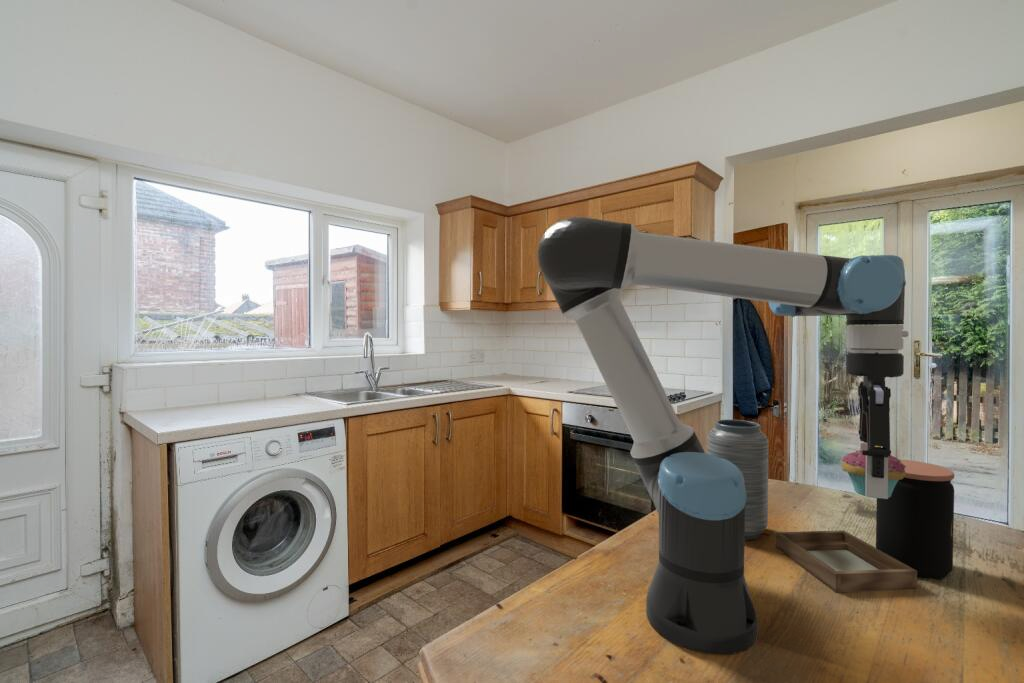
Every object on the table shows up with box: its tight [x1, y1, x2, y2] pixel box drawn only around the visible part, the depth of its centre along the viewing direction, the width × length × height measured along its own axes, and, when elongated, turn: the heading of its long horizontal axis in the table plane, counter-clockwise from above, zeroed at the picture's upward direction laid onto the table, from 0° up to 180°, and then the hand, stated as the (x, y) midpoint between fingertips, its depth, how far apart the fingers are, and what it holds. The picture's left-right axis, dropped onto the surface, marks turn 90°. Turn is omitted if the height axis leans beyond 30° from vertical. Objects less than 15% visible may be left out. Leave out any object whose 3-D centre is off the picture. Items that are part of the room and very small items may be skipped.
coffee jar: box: [875, 459, 955, 580], centre depth 86 cm, size 11×11×18 cm
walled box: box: [775, 529, 918, 593], centre depth 86 cm, size 14×16×3 cm
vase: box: [707, 419, 770, 541], centre depth 101 cm, size 12×12×23 cm
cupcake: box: [841, 446, 906, 499], centre depth 79 cm, size 9×8×12 cm
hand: (872, 488), depth 79 cm, fingers closed on cupcake, 9 cm apart
